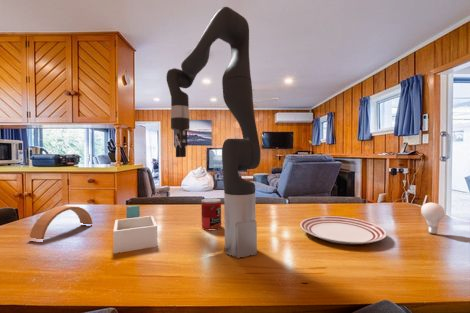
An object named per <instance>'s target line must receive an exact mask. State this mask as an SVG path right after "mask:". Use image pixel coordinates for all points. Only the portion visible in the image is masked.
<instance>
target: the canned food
mask: <svg viewBox="0 0 470 313" xmlns="http://www.w3.org/2000/svg"><path fill="white" fill-rule="evenodd" d="M200 204H201V205H200V206H201V209H200V210H201V228H202V229H203V228H204V229H203V230H205V229H217V230H219V229H221V228H220V227H222V201H221V199H220V198H214V197H211V198H204V199H201V203H200ZM218 228H219V229H218Z"/></svg>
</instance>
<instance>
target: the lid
mask: <svg viewBox="0 0 470 313" xmlns="http://www.w3.org/2000/svg"><path fill="white" fill-rule="evenodd" d="M125 208H126V219H128V218H137V217H141V216H140V213H141V212H140V204H138V205H128V206H126V207H125Z"/></svg>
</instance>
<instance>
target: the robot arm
mask: <svg viewBox="0 0 470 313" xmlns="http://www.w3.org/2000/svg"><path fill="white" fill-rule="evenodd" d="M218 39H219V40H221V41H223V42H225V43H227V44H228V45H229V46H230V50H231V51H230V52H231V56H230V57H231V60H230V62H229V64H228V65H227V66H226V68H225V70H224V72H223V75H222V79H221V84H222V96H223V97H222V98H223V102H224V103H225V105H226V107H227V108H228V109H229V110H228V111H230V112H231V114H232V116H233V117H234V118H235V120H236V122H237V124H238V125H239V127H240V131H241V134H242V138H227V139H225V140H224V142H222V143H223V144H222V147H221V148H222V149H221V162H222V179H223V180H222V181H223V189H224V190H223V196H224V198H223V199H224V200H223V201H224V203H223V204H224V205H223V206H224V208H223V209H224V210H223V214H224V216H223V217H224V252H225V254H227V255H228V254H229V256H231V255H232V256H231V257H235V256H236V257H235V258H237V259H240V257H242V258H246V257H250V255H251V256H255V255H257V254H258V230H257V229H258V228H257V226H258V224H257V221H256V218H257V217H256V216H257V215H256V185H255V182H253V181H249V180H246V179H244V178H243V177H241V176H240V175H239V170H240V171H241V170H242V171H243V170H255V169H257V168H258V167H259V166H260V162H261V156H262V155H261V147H260V140H259V133H258V129H257V123H256V122H257V121H256V118H255V109H254V100H253V99H254V97H253V96H254V94H253V85H252V78H251V77H252V76H251V64H250V26H249V22H248V20H247V19H246V18H245V17H244V16H243V15H242V14H240V13H239V12H237V11H235V10H234V9H232V8H230V7H228V6H223V7H221V8H219V9H218V11H216V13H215V14H214V15H213V17H212V19H211V20H210V21H209V24H208V25H207V26H206V28H205V30H204V32H203V33H202V35H201V37H200V39H198V41H197V42H196V45H195V47H194V48H193V49H192V50H191V51H190V53H188V55H187V56H186V57H184V59H183V60H182V62H181V65H180V68H181V69H180V68H176V67H171V68H169V69H168V71H167V73H166V83H167V87H168V90H169V91H168V92H169V94H170V100H171V101H170V102H171V103H170V105H171V107H170V108H171V109H170V129H171V130H173V131H176V132H175V133H174V134H173V136H174V137H173V138H174V140H173V141H174V145H173V146H174V148H175V158H185V157H186V155H187V154H186V153H187V149H186V148H187V146H188V144H189V143H188V131H189V130H190V110H189V109H190V107H189V100H190V98H189V95H188V94H187V93H186V92H184V91H183V90H182V89H188V88H190V87H191V86H193V83H194V81H195V78H196V77H197V75H198V74H199V73H200V72H201V71H202V70H203V69H204V68H205V67H206V65H207V64H208V62H209V58H210V53H211V52H210V51H211V46H212V45H213V44H214V43H215V42H216V41H217V40H218Z"/></svg>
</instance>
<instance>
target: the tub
mask: <svg viewBox="0 0 470 313" xmlns="http://www.w3.org/2000/svg"><path fill="white" fill-rule="evenodd" d="M123 228H131V229H124V230H122V229H123ZM112 232H113V233H112V235H113V237H112V238H113V239H112V240H113V254H118V253H119V252H120V253H123V252H131V251H137V250H142V249H143V250H144V249H149V248H154V247H158V225H157V222H156V220H155V218H154V216H153V215H147V216H140V217H137V218H128V219H127V218H121V219H115V221H114V226H113V231H112Z"/></svg>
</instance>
